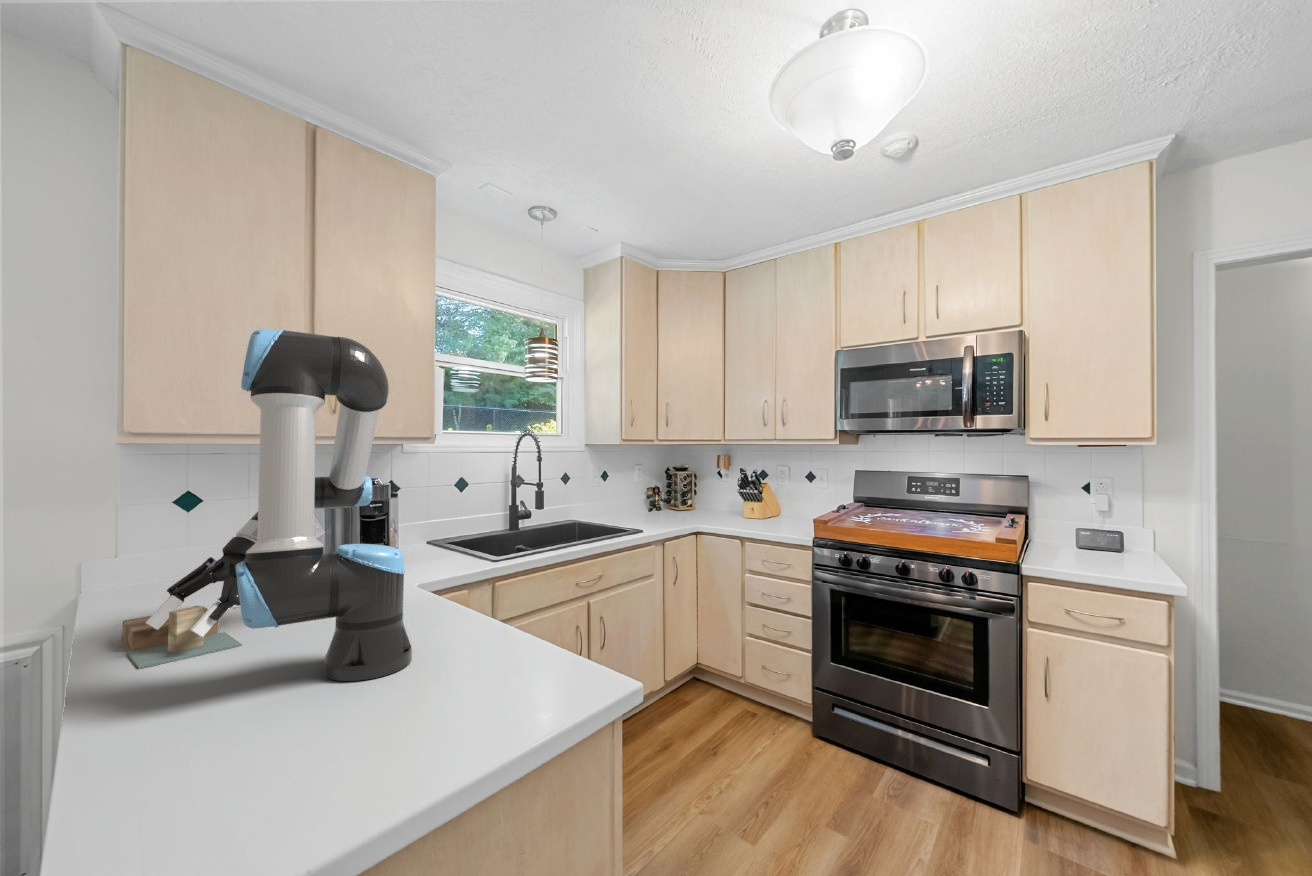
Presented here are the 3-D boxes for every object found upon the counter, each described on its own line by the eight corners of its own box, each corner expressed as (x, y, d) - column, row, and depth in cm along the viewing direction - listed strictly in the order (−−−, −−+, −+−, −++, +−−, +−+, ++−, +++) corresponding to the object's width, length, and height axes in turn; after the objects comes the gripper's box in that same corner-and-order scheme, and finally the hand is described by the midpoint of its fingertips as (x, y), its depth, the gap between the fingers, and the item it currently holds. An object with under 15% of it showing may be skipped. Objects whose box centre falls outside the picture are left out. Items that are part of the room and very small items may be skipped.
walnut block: (217, 633, 122) (218, 616, 122) (132, 651, 111) (133, 632, 111) (203, 623, 129) (203, 606, 130) (122, 638, 118) (122, 620, 119)
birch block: (203, 644, 114) (204, 606, 115) (176, 652, 110) (177, 613, 110) (195, 643, 115) (196, 605, 115) (167, 651, 110) (169, 611, 111)
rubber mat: (241, 645, 115) (241, 643, 115) (138, 669, 102) (138, 666, 102) (224, 633, 122) (224, 631, 122) (126, 654, 110) (126, 652, 110)
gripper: (301, 557, 124) (230, 645, 109) (224, 550, 131) (148, 632, 117) (279, 537, 119) (201, 627, 104) (200, 531, 126) (118, 614, 112)
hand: (173, 630), depth 110 cm, fingers open, 13 cm apart
